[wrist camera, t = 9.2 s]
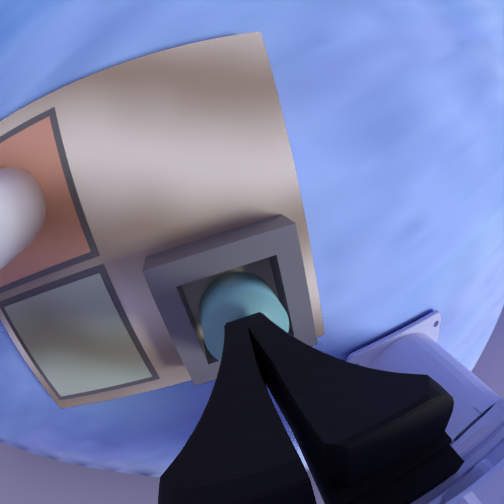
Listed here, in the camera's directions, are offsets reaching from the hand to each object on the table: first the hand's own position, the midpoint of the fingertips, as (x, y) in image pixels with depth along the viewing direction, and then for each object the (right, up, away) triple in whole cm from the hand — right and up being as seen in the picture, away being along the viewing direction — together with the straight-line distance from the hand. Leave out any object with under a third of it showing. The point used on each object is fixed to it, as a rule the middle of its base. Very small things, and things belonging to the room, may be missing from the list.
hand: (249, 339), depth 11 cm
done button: (-1, +1, +3) cm, 3 cm away
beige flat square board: (-6, +3, +2) cm, 7 cm away
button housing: (-1, +1, +3) cm, 3 cm away
